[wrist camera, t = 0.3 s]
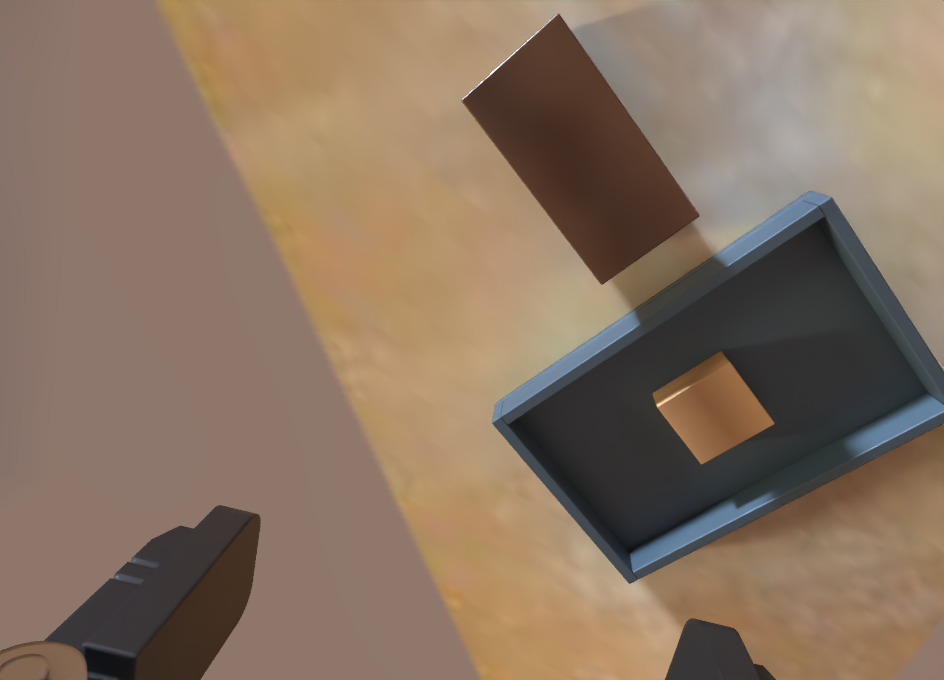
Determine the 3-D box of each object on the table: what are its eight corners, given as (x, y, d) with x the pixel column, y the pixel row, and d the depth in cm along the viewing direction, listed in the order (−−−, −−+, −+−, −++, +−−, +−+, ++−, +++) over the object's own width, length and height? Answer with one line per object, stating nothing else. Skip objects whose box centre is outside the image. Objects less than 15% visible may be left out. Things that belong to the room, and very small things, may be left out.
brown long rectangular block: (557, 33, 26) (558, 12, 21) (673, 197, 28) (700, 215, 23) (477, 103, 28) (460, 100, 22) (593, 256, 29) (601, 285, 24)
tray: (810, 190, 27) (831, 196, 25) (939, 390, 29) (969, 411, 27) (495, 403, 33) (491, 422, 31) (624, 556, 35) (629, 584, 33)
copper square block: (721, 349, 30) (730, 361, 28) (764, 409, 30) (775, 424, 29) (651, 393, 31) (656, 406, 29) (694, 448, 32) (701, 465, 30)
